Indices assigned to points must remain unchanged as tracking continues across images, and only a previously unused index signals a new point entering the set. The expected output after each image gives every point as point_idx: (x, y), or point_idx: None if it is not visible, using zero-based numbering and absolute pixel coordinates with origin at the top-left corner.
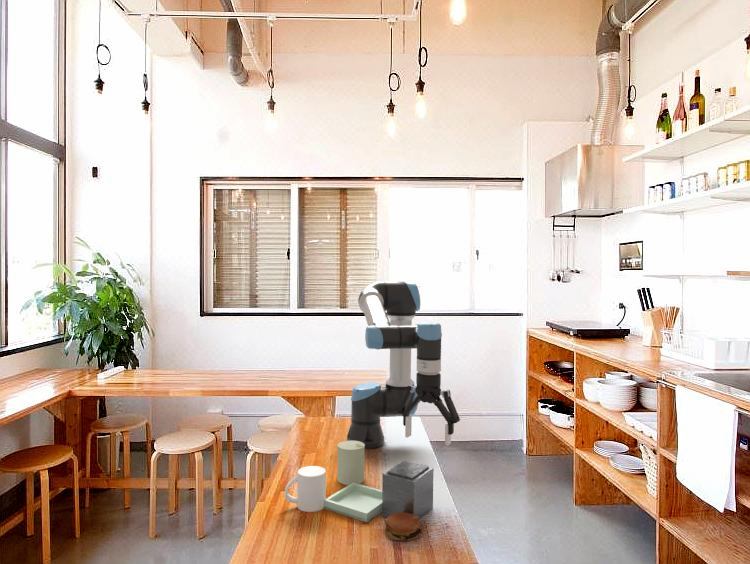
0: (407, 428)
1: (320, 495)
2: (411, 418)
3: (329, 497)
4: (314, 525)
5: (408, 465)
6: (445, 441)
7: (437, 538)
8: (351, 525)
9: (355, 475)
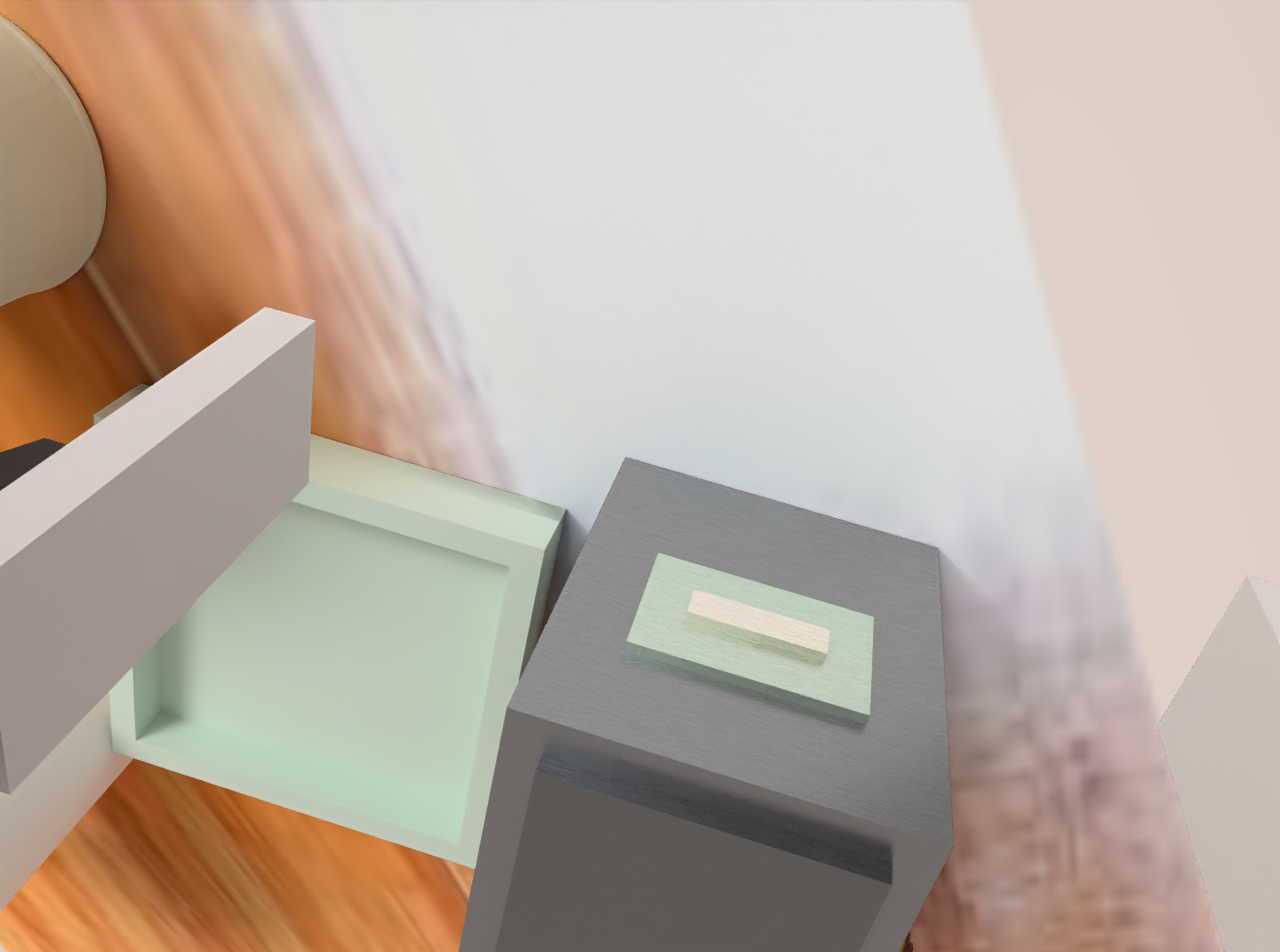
0: (203, 590)
1: (82, 811)
2: (60, 531)
3: (118, 709)
4: (238, 884)
5: (632, 892)
6: (1188, 790)
7: (1025, 926)
8: (429, 859)
9: (18, 288)
